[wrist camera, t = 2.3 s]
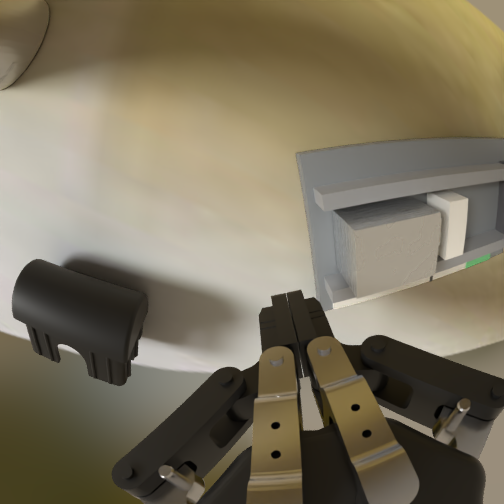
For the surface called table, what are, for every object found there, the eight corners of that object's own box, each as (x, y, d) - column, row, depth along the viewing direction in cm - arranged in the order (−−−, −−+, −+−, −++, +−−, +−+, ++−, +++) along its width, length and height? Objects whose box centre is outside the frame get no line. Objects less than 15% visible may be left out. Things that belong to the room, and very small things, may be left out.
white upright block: (426, 191, 17) (449, 202, 14) (445, 188, 17) (468, 198, 14) (425, 244, 19) (445, 260, 16) (442, 239, 19) (462, 254, 16)
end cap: (154, 274, 20) (126, 332, 14) (147, 338, 23) (128, 395, 17) (50, 242, 19) (3, 283, 12) (56, 307, 21) (23, 352, 15)
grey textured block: (331, 208, 17) (354, 230, 14) (423, 191, 17) (456, 208, 13) (336, 267, 19) (356, 298, 16) (421, 245, 19) (450, 269, 15)
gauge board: (295, 153, 17) (323, 165, 11) (502, 138, 16) (548, 150, 10) (317, 303, 22) (338, 357, 16) (496, 247, 21) (531, 274, 15)
